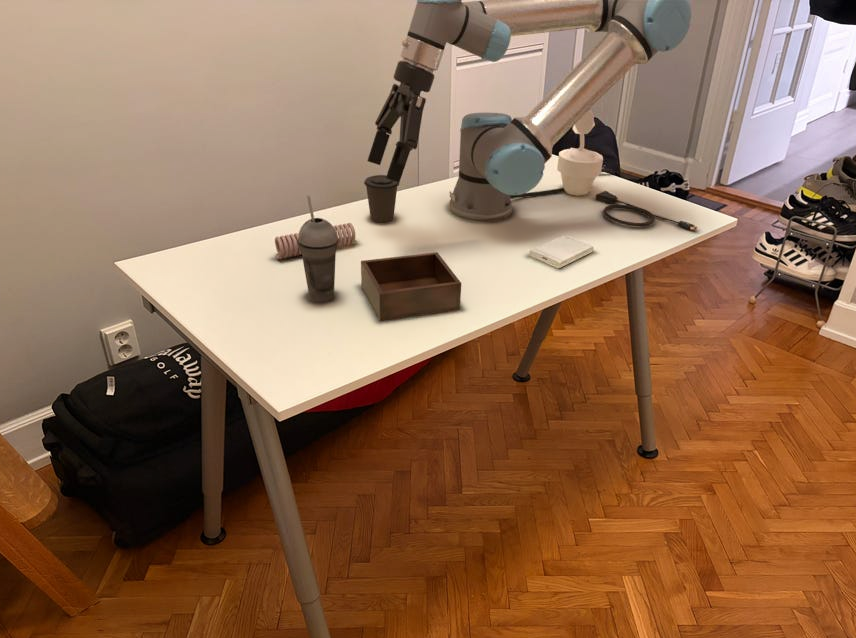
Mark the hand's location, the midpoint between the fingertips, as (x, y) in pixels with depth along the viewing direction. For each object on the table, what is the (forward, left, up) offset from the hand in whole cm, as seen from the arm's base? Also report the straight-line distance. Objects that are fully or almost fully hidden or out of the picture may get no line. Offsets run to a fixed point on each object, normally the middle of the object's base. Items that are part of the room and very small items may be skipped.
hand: (382, 171), depth 146 cm
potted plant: (-59, -22, -17) cm, 65 cm away
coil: (+14, -3, -17) cm, 22 cm away
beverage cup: (+17, +17, -17) cm, 30 cm away
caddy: (+1, +22, -17) cm, 28 cm away
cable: (-64, -2, -17) cm, 66 cm away
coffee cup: (-4, -16, -17) cm, 24 cm away
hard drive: (-37, +12, -17) cm, 43 cm away
